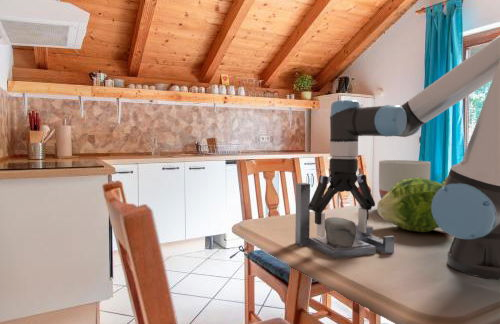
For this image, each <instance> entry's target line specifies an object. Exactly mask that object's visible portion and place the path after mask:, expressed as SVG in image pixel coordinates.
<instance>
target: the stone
mask: <svg viewBox="0 0 500 324" xmlns="http://www.w3.org/2000/svg"><path fill="white" fill-rule="evenodd" d="M356 225H357V224H356V223H355V222H354V221H352V220H349V219H346V218H344V217H335V216H333V217H332V216H331V217H327V218H325V237H326V239H327V241H328V242H329V243H330V244H331V245H333V246H338V247H343V248H344V247H346V248H347V247H351V246H352V245H353V243H354V240H355V236H356Z"/></svg>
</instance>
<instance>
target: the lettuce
mask: <svg viewBox="0 0 500 324" xmlns="http://www.w3.org/2000/svg"><path fill="white" fill-rule="evenodd" d="M442 187H444V185H442V184H441V183H440V182H438V181H435V180H431V179H430V180H429V179H425V178H410V179H405V180H402V181H400V182H398V183H397V184H395V185H394V186H393V187H392V188H391V189H390V191H389V192H388V193H387V194H386V195H385V196H384V197H382V199H381V198H380V199H379V201H378V202H377V204H376V205H377V207H376V208H377V209H376V210H377V213H378V215H379V216H380V217H382V218H383V219H384V220H386V221H387V222H389V223H392V224H394V225H395V226H397V227H398V228H400V229H403V230H405V231H408V232H413V233H414V232H416V233H427V232H431V231H434V230H435V229H438V228H440V227H439V226H438V225H437V223H436V221H435V219H434V218H433V215H432V211H431V204H432V200H433V197H434V196H435V194H436V193H437V192H438V191H439V189H440V188H442Z"/></svg>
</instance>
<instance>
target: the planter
mask: <svg viewBox="0 0 500 324" xmlns="http://www.w3.org/2000/svg"><path fill="white" fill-rule="evenodd" d="M431 167H432V166H431V161H425V160H411V159H410V160H407V159H386V160H385V159H382V160H379V161H378V192H379V195H380V200H381V199H382V197H384V196H385V195H386V194H387V193H388V192H389V191H390V189H391V188H392V187H393V186H394V185H395V184H397V183H398V182H400V181H402V180H405V179H410V178H425V179H429V180H431Z"/></svg>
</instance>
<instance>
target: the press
mask: <svg viewBox="0 0 500 324" xmlns="http://www.w3.org/2000/svg"><path fill="white" fill-rule="evenodd" d="M310 202H311V184H310V183H307V182H296V183H295V235H294V236H295V237H294V238H295V241H294V243H295V244H296V245H298V246H299V247H303V246H304V247H305V246H310V247H312V248H314V249H316V250H317V251H319V252H321V253H323V254H324V255H326V256H328V257H329V258H332V259H334V260H336V259H337V260H338V259H346V258H353V257H359V256H360V255H362V256H368V254H369V255H375V254H376V251H378V252H380V253H382V252H383V253H382V254H384V253H385V255H387V254H386V253H388V254H393V253H395V236H394V235H385V236H382V238H381V237H377V236H375V235H373V234H366V235H361V234H358V233H356V236H355V240H354V243H353V245H352V246H351V247H347V248H346V247H344V248H343V247H338V246H333V245H331V244H330V243H329V242H328V241H327V239H326V236H325V237H321V236H318V237H310V225H311V223H310V221H311V219H310V217H311V210H310V209H309V208H308V206H309V204H310ZM375 249H376V250H375Z"/></svg>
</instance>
